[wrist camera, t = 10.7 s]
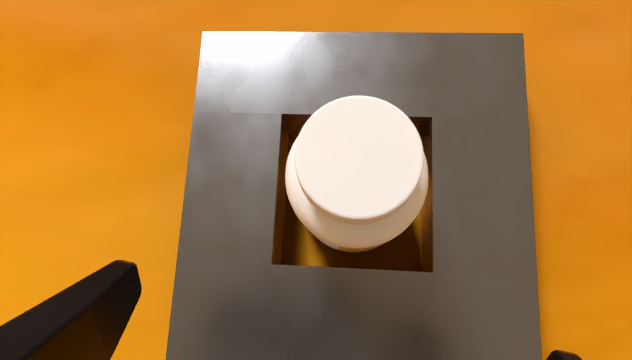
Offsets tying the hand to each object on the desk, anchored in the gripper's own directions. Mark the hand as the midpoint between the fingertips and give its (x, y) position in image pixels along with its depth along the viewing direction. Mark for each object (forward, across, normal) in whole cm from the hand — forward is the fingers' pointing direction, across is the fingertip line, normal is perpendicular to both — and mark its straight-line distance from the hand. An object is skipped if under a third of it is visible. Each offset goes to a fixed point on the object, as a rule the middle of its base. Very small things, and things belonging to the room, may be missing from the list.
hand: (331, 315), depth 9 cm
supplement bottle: (+12, 0, +6) cm, 13 cm away
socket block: (+12, 0, +6) cm, 13 cm away
